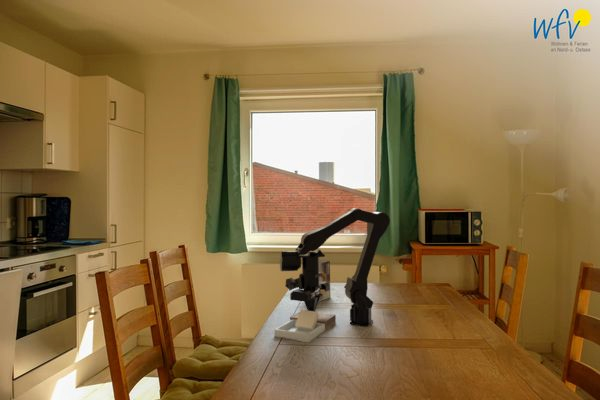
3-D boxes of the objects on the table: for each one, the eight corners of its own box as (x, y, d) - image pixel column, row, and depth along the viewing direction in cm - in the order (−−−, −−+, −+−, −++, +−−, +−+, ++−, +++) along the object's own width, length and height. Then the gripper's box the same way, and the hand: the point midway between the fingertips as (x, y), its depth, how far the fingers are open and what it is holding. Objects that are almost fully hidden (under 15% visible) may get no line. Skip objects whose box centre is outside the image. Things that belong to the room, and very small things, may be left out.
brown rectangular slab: (335, 323, 146) (335, 314, 146) (324, 331, 138) (324, 321, 138) (302, 318, 152) (302, 310, 152) (290, 325, 144) (290, 317, 144)
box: (324, 331, 138) (324, 323, 138) (308, 342, 127) (308, 334, 127) (292, 326, 143) (292, 319, 143) (274, 336, 133) (274, 329, 132)
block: (318, 315, 140) (316, 311, 139) (313, 331, 136) (311, 328, 135) (302, 312, 143) (300, 309, 142) (297, 328, 139) (294, 325, 138)
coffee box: (318, 295, 186) (318, 259, 186) (330, 297, 182) (330, 260, 182) (306, 300, 179) (306, 262, 179) (318, 302, 175) (318, 263, 175)
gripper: (302, 264, 154) (302, 306, 154) (275, 273, 138) (276, 320, 138) (330, 266, 149) (330, 310, 149) (306, 275, 133) (306, 325, 133)
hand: (311, 316), depth 142 cm, fingers closed
